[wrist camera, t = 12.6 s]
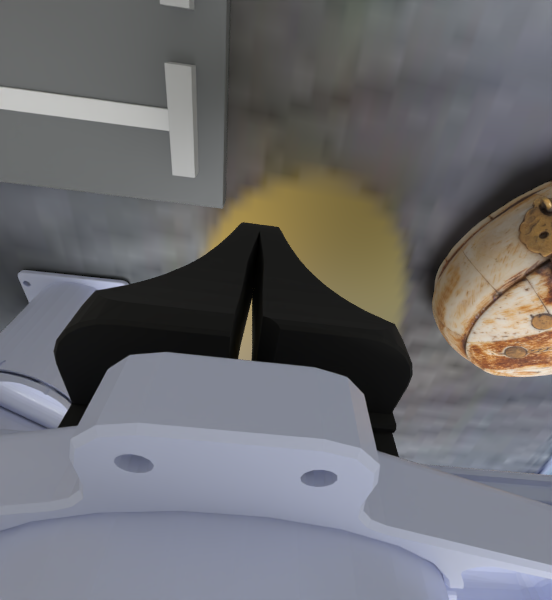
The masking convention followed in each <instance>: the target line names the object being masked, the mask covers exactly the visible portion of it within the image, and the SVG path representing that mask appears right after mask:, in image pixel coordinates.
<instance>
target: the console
mask: <svg viewBox="0 0 552 600" xmlns="http://www.w3.org/2000/svg"><path fill="white" fill-rule="evenodd" d="M229 33H230V0H0V182H6V183H14V184H23V185H31V186H39V187H48V188H56V189H64V190H73V191H81V192H89V193H98V194H106V195H114V196H123V197H131V198H139V199H148V200H156V201H164V202H173V203H181V204H189V205H198V206H206V207H214V208H223V206H224V203H225V197H226V156H227V115H228V74H229Z"/></svg>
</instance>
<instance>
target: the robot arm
mask: <svg viewBox="0 0 552 600" xmlns="http://www.w3.org/2000/svg"><path fill="white" fill-rule="evenodd" d="M18 279H19V281H20V283H21V285H22V288H23V290H24V292H25V295H26V297H27V299H28V301H29V304H28V305H27V306H26V307H25V308H24V309H23V310H22V311H21V312H20V313H19V314H18V315H17V316H16V317H15V318H14V319H13V320H12V322H11V323H10V324H9V325H8V326H7V327H6V328H5V329H4V330H3V331H2V332H1V333H0V600H552V475H541V474H530V473H518V472H506V471H494V470H482V469H470V468H458V467H447V466H435V465H423V464H418V463H415V462H412V461H409V460H405V459H402V458H399V456H398V452H397V449H396V445H395V442H394V438H393V434H392V433H394V432H395V430H396V422H395V419H394V416H393V410H394V408H395V407H396V405H397V403H398V402H399V400H400V398H401V397H402V395H403V393H404V392H405V390H406V388H407V387H408V385H409V382H410V380H411V377H412V362H411V359H410V357H409V354H408V352H407V349H406V347H405V344H404V342H403V339H402V337H401V335H400V333H399V332H398V330H397V328H396V326H395V324H393V323H391V322H388V321H386V320H384V319H382V318H380V317H377V316H375V315H373V314H371V313H369V312H367V311H364V310H363V309H361V308H359V307H357V306H356V305H354V304H352V303H350V302H349V301H347V300H345V299H344V298H342V297H341V296H339V295H338V294H336V293H335V292H334V291H332V290H331V289H330V288H328V287H327V286H326V285H324V284H323V283H322V282H321V281H320V280H318V279H317V278H316V277H315V276H314V275H313V274H312V273H311V272H310V271H309V270H308V269H307V268H306V267H305V266H304V264H303V263H302V262H301V261H300V260H299V258H298V257H297V256H296V254H295V253H294V251H293V250H292V249H291V247H290V245H289V244H288V242H287V241H286V239H285V237H284V235H283V233H282V232H281V230H280V228H279V227H274V226H267V225H261V226H260V225H259V224H252V223H244V222H243V223H241V224H240V225H239V226H238V227H237V228H236V229H235V230H234V231H233V232H232V233H231V234H230V235H229V236H228V237H227V238H226V239H225V240H223V241H222V242H221V243H220V244H219V245H218V246H216V247H215V248H214V249H212V250H211V251H210V252H208V253H207V254H206V255H204V256H203V257H201V258H199V259H197V260H196V261H194V262H192V263H190V264H188V265H186V266H184V267H181V268H179V269H176V270H174V271H172V272H169V273H167V274H164V275H161V276H158V277H155V278H152V279H148V280H145V281H141V282H137V283H133V284H128V283H127V282H126V281H123V280H114V279H105V278H95V277H86V276H77V275H67V274H58V273H48V272H39V271H30V270H22V271H20V272H19V273H18ZM27 281H28V282H29V283H28V282H27ZM251 300H252V361H250V360H240V359H238V355H239V350H240V345H241V341H242V337H243V333H244V329H245V325H246V320H247V317H248V312H249V308H250V304H251Z"/></svg>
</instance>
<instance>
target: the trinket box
mask: <svg viewBox="0 0 552 600" xmlns="http://www.w3.org/2000/svg"><path fill="white" fill-rule="evenodd" d="M432 309H433V314H434V318H435V321H436V324H437V326H438V328H439V330H440V331H441V333H442V335H443V336H444V338H445V339H446V341H447V342H448V343H449V344H450V345H451V346H452V347H453V348H454V349H455V350H456V351H457V352H458V353H459V354H460V355H462V356H463V357H464V358H466V359H467V360H469V361H471V362H472V363H473V364H475V365H476V366H478V367H479V368H481V369H483V370H484V371H485V372H488V373H490V374H494V375H500V376H511V377H530V376H541V375H549V374H552V181H550V182H547V183H544V184H542V185H540V186H538V187H536V188H534V189H533V190H531V191H528V192H527V193H525V194H523V195H521V196H519V197H517V198H515V199H513V200H512V201H510V202H509V203H507V204H506V205H504V206H502V207H501V208H499V209H498V210H497V211H495V212H493V213H491V214H490V215H489V216H488V217H486V218H485V219H483V220H482V221H481V222H479V223H478V224H477V225H476V226H475V227H473V228H472V229H471V230H470V231H469V232H468V233H467V234H466V235H465V236H464V237H462V238H461V240H460V241H459V242H458V243H457V244H456V245H455V246H454V247H453V248H452V249H451V251H450V252H449V254H448V256H447V257H446V258H445V259H444V261H443V262H442V264H441V266H440V267H439V269H438V272H437V275H436V279H435V286H434V294H433V300H432Z"/></svg>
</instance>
